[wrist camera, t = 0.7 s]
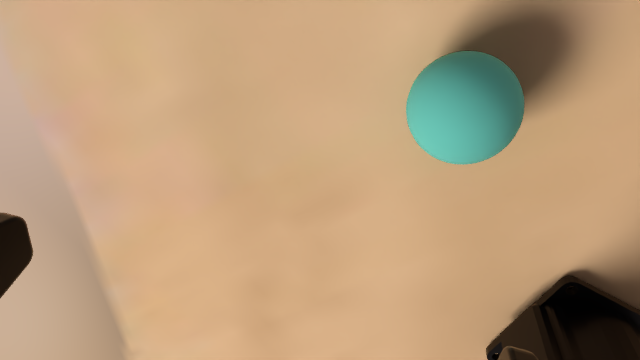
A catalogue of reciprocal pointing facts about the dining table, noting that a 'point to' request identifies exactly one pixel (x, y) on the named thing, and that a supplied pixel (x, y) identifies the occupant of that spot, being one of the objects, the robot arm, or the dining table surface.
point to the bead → (465, 107)
